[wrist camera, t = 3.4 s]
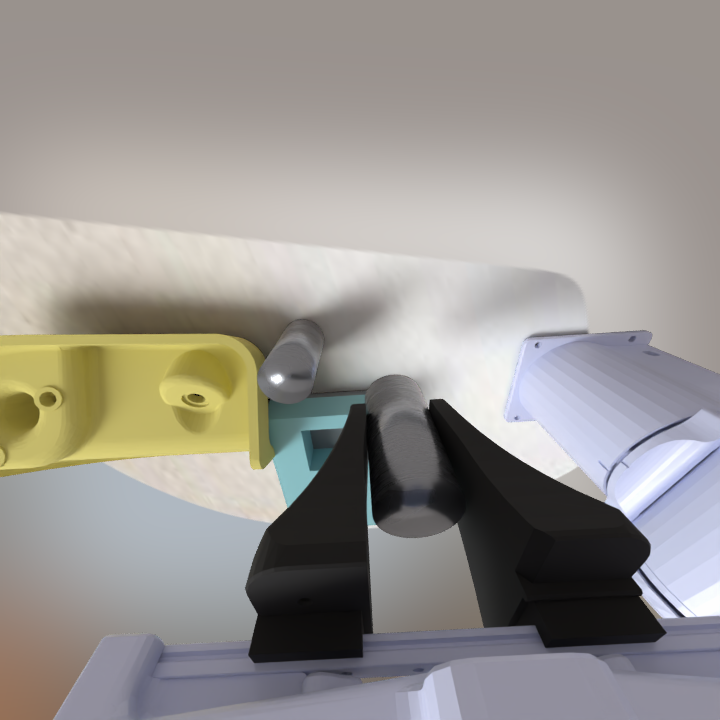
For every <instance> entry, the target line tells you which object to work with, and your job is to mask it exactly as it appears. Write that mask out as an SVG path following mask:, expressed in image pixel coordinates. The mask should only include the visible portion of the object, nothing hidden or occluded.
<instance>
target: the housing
mask: <svg viewBox="0 0 720 720" xmlns="http://www.w3.org/2000/svg"><path fill="white" fill-rule="evenodd" d="M366 391H367V390H363V391H347V392H331V393H315V394H310V395H309V396H308V397H307V398H306V399H304V400H303V401H301V402H298V403H294V404H283V403H279V402H276V401H273V400H272V399H271V400H270V402H269V404H268V419H269V440H270V444H271V445H272V446H273V448H274V452H275V457H274V458H273V462H274V465H275V468H276V471H277V474H278V478H279V481H280V484H281V487H282V491H283V494H284V497H285V500H286V504H287V507H289V506H290V505H291V504H292V503H293V502H294V501H295V499H296V498H297V497H298V496H299V495H300V494H301V493H302V491H303V490H304V489H305V488H306V487H307V486H308V484H309V483H310V482H311V481H312V479H313V478H314V477H315V475H316V474H317V472H318V471H319V470H320V468H321V467H322V465H323V464H324V462H325V461H326V459H327V458H328V456H329V454H330V453H331V451H332V449H333V447H334V446H335V444H336V442H337V440H338V438H339V436H340V434H341V432H342V429H343V427H344V425H345V422H346V420H347V417H348V414H349V411H350V406H351V405H352V404H362V403H365V394H366ZM367 524H368V525H376V524H375V522H374V520H373V517H372V506H371V491H370V476H369V460H368V485H367Z"/></svg>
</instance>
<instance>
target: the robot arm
mask: <svg viewBox="0 0 720 720" xmlns="http://www.w3.org/2000/svg"><path fill="white" fill-rule="evenodd" d="M629 338H630V339H629ZM651 338H652V333H651V332H648V331H644V330H643V331H627V332H611V333H597V334H580V335H564V336H549V337H533V338H527V339H526V340H525V341H524V342H523V344H522V347H521V351H520V355H519V359H518V363H517V367H516V371H515V374H514V378H513V382H512V386H511V390H510V394H509V398H508V402H507V406H506V410H505V414H504V419H505V420H506V421H507V422H522V421H537V422H538V423H539V424H540V425H541V426H542V427H543V429H544V430H545V431H546V432H547V433H548V434H549V435H550V436H551V437H552V438H553V439H554V440H555V441H556V442H557V444H558V445H559V446H560V447H561V448H562V449H563V450H564V451H565V452H566V453H567V454H568V455H569V456H570V458H571V459H572V460H573V461H574V462H575V463H576V464H577V465H578V466H579V467H580V468H581V469H582V470H583V471H584V473H585V474H587V476H588V477H589V478H590V479H591V480H592V481H593V482H594V483H595V484H596V485H597V486H598V488H599V489H600V490H601V491H602V492H603V493H604V494H605V495H606V496H607V499H606V501H605V502H601V501H599V500H597V499H594V498H592V497H590V496H588V495H585V494H583V493H581V492H579V491H576V490H574V489H572V488H570V487H568V486H566V485H564V484H562V483H560V482H558V481H556V480H554V479H553V478H551V477H549V476H547V475H545V474H543V473H541V472H540V471H538V470H536V469H534V468H533V467H531V466H529V465H527V464H526V463H524V462H522V461H521V460H519V459H518V458H516V457H515V456H513V455H512V454H510V453H509V452H507V451H505V450H504V449H502V448H501V447H500V446H498V445H497V444H495V443H494V442H493V441H491V440H490V439H489V438H487V437H486V436H485V435H484V434H482V433H481V432H480V431H479V430H477V429H476V428H475V427H474V426H472V425H471V424H470V423H469V422H468V421H467V420H466V419H464V418H463V417H462V416H461V415H460V414H459V413H458V412H457V411H456V410H454V409H453V408H452V407H451V406H450V405H449V404H448V403H447V402H446V401H445V400H443V399H433V400H430V404H429V412H430V414H431V417H432V419H433V421H434V424H435V426H436V429H437V431H438V434H439V436H440V439H441V441H442V443H443V446H444V448H445V451H446V453H447V456H448V458H449V460H450V463H451V465H452V468H453V470H454V473H455V475H456V478H457V480H458V482H459V485H460V487H461V490H462V492H463V495H464V497H465V500H466V510H465V513H464V515H463V516H462V518H461V519H460V520H459V521H458V522H457V523H458V527H459V530H460V534H461V537H462V541H463V544H464V548H465V552H466V556H467V560H468V563H469V567H470V571H471V575H472V579H473V583H474V587H475V591H476V596H477V600H478V604H479V608H480V613H481V617H482V621H483V626H484V628H475V629H474V628H473V629H454V630H435V631H417V632H397V633H378V634H373V627H372V626H373V623H372V604H371V585H370V564H369V545H368V524H367V485H368V445H367V417H366V403H362V404H352V405H351V406H350V411H349V414H348V417H347V420H346V422H345V425H344V427H343V429H342V432H341V434H340V436H339V438H338V440H337V442H336V444H335V446H334V447H333V449H332V451H331V453H330V454H329V456H328V458H327V459H326V461H325V462H324V464H323V465H322V467H321V468H320V470H319V471H318V472H317V474H316V475H315V477H314V478H313V479H312V481H311V482H310V483H309V484H308V486H307V487H306V488H305V489H304V490H303V491H302V493H301V494H300V495H299V496H298V497H297V498H296V499H295V501H294V502H293V503H292V504H291V505H290V506H289V507H288V508H287V509H286V510H285V511H284V512H283V513H282V514H281V515H280V516H279V517H278V518H277V519H276V520H275V521H274V522H273V523H272V524H271V525H270V526H269V527H268V528H267V529H266V531H265V533H264V535H263V537H262V540H261V542H260V544H259V546H258V549H257V551H256V554H255V557H254V559H253V562H252V566H251V570H250V573H249V577H248V580H247V583H246V587H245V589H246V593H247V596H248V597H249V599H250V601H251V603H252V605H253V606H254V608H255V610H256V612H257V613H258V616H257V621H256V624H255V629H254V633H253V637H252V640H245V641H226V642H209V643H189V644H170V645H164V642H163V641H162V639H161V638H160V637H158V636H156V635H153V634H149V633H134V634H133V633H132V634H113V635H107V636H105V637H103V638H102V640H101V642H100V643H99V645H98V646H97V648H96V650H95V652H94V653H93V655H92V656H91V658H90V660H89V661H88V663H87V665H86V666H85V668H84V670H83V671H82V673H81V675H80V676H79V678H78V679H77V681H76V683H75V685H74V686H73V688H72V690H71V691H70V693H69V694H68V696H67V698H66V699H65V701H64V703H63V704H62V706H61V708H60V709H59V711H58V712H57V714H56V716H55V718H54V719H53V720H720V374H718V373H715V372H713V371H710V370H708V369H705V368H703V367H701V366H698V365H696V364H693V363H691V362H688V361H686V360H683V359H681V358H678V357H676V356H673V355H671V354H669V353H666V352H664V351H661V350H659V349H656V348H654V347H652V346H649V345H648V344H649V342H650V340H651ZM537 342H539V343H538V345H536V346H535V344H536V343H537ZM641 595H642V596H643V597H644V598H645V599H646V601H647V602H648V603H649V604H650V605H651V606H652V607H653V608H654V609H655V611H656V612H657V613H658V614H659V615H660V616H661V617H662V618H663V619H656V618H655V617H654V615H653V614H652V613H651V612H650V610H649V609H648V608H647V606H646V605H645V604H644V602H643V601H642V600H641V599H640V597H639V596H641ZM392 676H405V677H399V678H394V679H388V680H381V681H375V682H369V683H363V684H362V681H361V679H360V678H372V677H392Z"/></svg>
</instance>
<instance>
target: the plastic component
mask: <svg viewBox="0 0 720 720" xmlns="http://www.w3.org/2000/svg"><path fill="white" fill-rule="evenodd" d="M264 361H265V358H264V356H263V354H262V353H261V351H260V350H259V349H258V348H257V347H256V346H255V345H254V344H253V343H251V342H250V341H248V340H246V339H243V338H240V337H234V336H228V335H222V334H84V335H3V336H0V477H4V476H10V475H16V474H22V473H28V472H34V471H41V470H48V469H54V468H61V467H68V466H75V465H81V464H90V463H97V462H105V461H114V460H122V459H132V458H142V457H154V456H166V455H185V454H204V453H223V452H242V451H249V455H250V464H251V468H252V469H253V470H254V469H264V468H265V467H266V466H267V465H268V463H269V462H270V461H271V460H272V459H273V458H274V457H275V452H274V448H273V446H272V445H271V444H270V440H269V419H268V397H267V396H266V395H265V394H264V393H263V392H262V391H261V389H260V387H259V385H258V381H257V374H258V371H259V369H260V367H261V366H262V364H263V363H264ZM194 394H199V395H202V396H196V395H194Z"/></svg>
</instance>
